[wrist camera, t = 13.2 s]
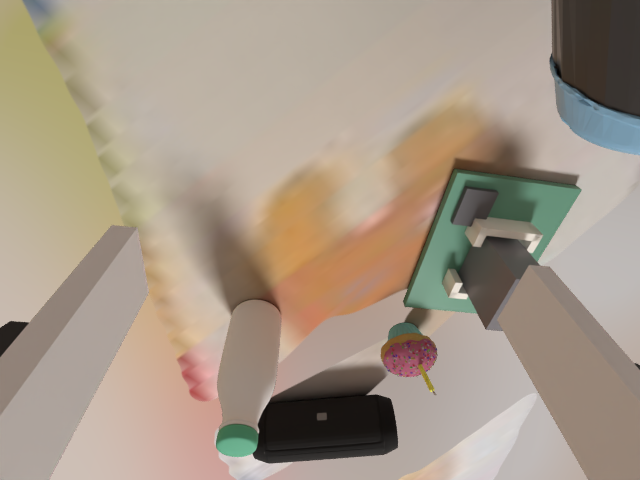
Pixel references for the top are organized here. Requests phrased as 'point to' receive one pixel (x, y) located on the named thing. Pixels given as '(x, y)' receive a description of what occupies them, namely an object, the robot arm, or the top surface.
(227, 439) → the milk bottle
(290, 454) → the portable speaker
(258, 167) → the top surface
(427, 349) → the cupcake
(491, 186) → the board
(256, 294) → the top surface
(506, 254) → the block
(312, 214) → the top surface
